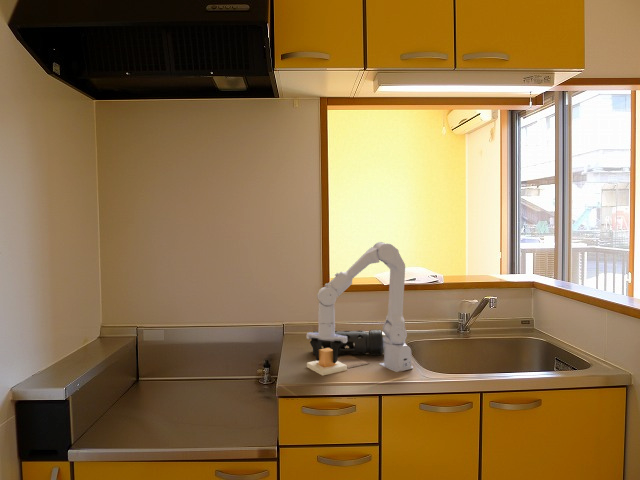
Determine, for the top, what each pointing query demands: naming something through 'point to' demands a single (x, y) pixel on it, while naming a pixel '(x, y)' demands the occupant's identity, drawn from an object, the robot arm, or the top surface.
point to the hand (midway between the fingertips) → (326, 361)
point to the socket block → (326, 368)
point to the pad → (351, 361)
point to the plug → (326, 357)
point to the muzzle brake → (359, 342)
